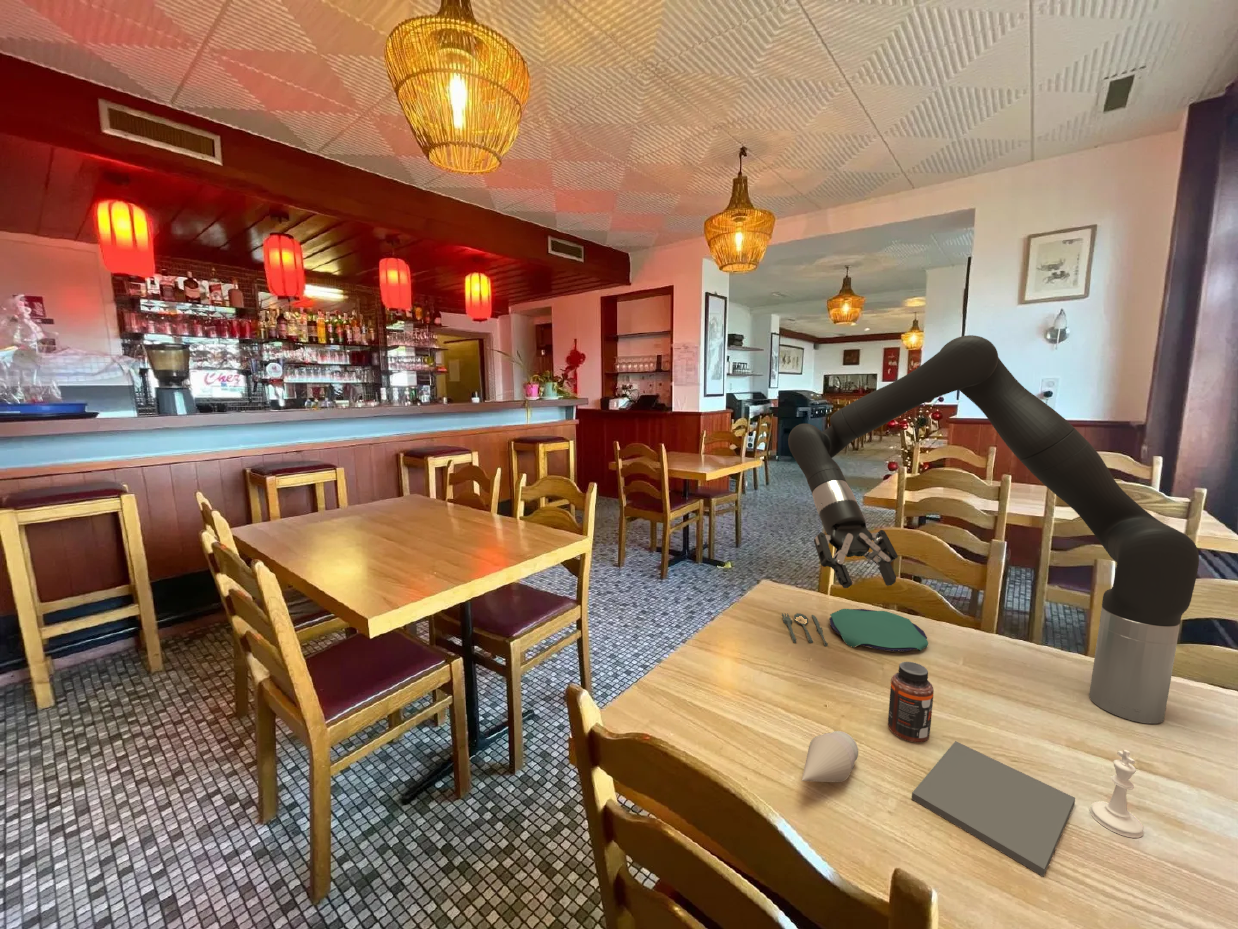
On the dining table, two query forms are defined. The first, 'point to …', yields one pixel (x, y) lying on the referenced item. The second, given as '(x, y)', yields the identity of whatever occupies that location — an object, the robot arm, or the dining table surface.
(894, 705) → the supplement bottle
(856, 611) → the cutlery set
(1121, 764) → the chess piece
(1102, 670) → the robot arm
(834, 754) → the ice cream cone
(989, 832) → the mat
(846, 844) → the dining table surface
